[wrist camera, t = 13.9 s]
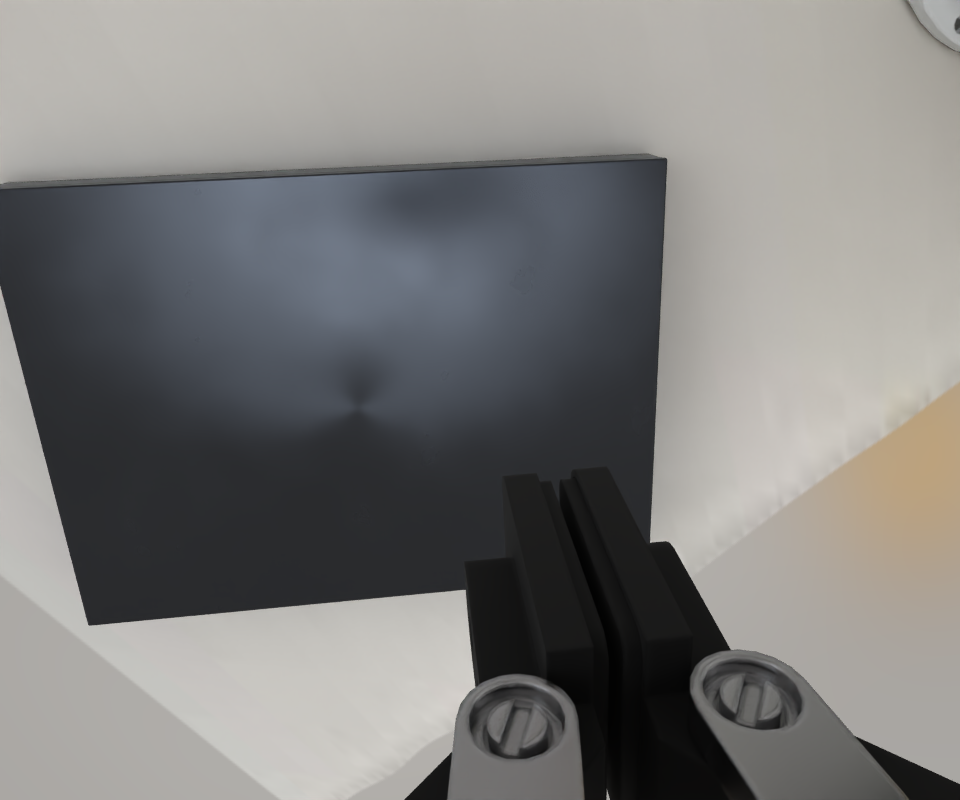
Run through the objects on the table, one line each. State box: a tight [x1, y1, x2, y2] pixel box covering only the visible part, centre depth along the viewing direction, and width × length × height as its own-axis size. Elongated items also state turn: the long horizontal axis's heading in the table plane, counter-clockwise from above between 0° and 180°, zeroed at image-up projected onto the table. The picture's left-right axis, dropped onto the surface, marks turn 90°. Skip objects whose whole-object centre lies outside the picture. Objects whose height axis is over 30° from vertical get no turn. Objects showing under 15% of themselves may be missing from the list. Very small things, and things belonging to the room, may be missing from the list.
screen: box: [0, 157, 667, 625], centre depth 38 cm, size 22×30×1 cm
